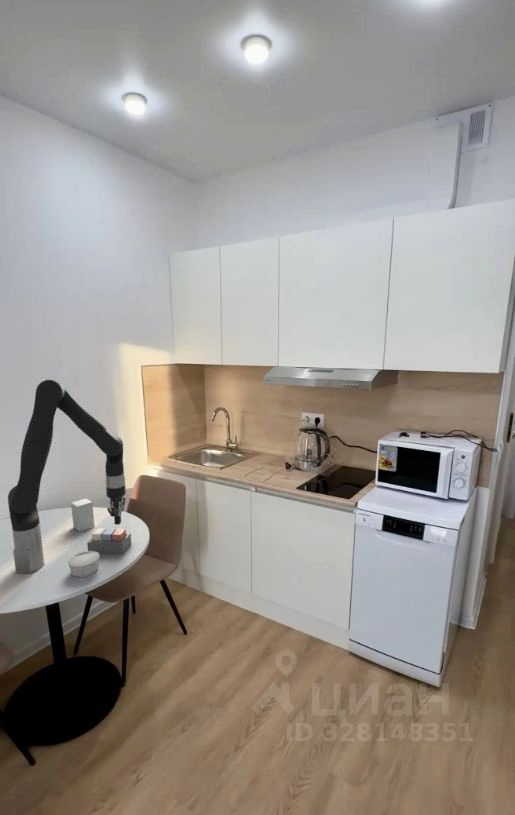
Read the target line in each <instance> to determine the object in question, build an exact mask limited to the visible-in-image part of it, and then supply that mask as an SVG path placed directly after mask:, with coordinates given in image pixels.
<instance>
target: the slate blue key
mask: <svg viewBox="0 0 515 815" xmlns="http://www.w3.org/2000/svg"><path fill="white" fill-rule="evenodd" d="M105 529H106V530H105V531H104V533H103V534H102V541H113V540H112V534H113V533H114V532H115V531H116V529H117V528H105Z"/></svg>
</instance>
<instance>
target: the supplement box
mask: <svg viewBox="0 0 515 815" xmlns="http://www.w3.org/2000/svg"><path fill="white" fill-rule="evenodd" d="M70 504H71V516H72V527H73V529H76V530H77V531H78V532H83V531H86V530H90V529H92V528H94V527H95V517H94V506H93V501H92V500H90V499H88V498H83V499H80V500H76V501H72V502H71V503H70Z"/></svg>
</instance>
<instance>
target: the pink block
mask: <svg viewBox="0 0 515 815" xmlns="http://www.w3.org/2000/svg"><path fill="white" fill-rule="evenodd" d="M115 529H116V531H115V532H114V533H113V534H112V540H113V541H123V539H124V538H125V537H126V533H127V530H126V528H115Z"/></svg>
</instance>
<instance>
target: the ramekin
mask: <svg viewBox="0 0 515 815" xmlns="http://www.w3.org/2000/svg"><path fill="white" fill-rule="evenodd" d="M100 555H101V554H99V553H97V552H95V551H88V550H87V551H82V552H77V553H76V554H73V555H72V556H70V558H69V559H68V561H67V564H68V566H69V569H70V570H69V571H70V573H71V575H73V576H74V577H75V578H85V577H88V576H90V575H93V574H94V573H95V572H97V570H98V569H99V565H100V564H99V563H100V558H101V556H100Z"/></svg>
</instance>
